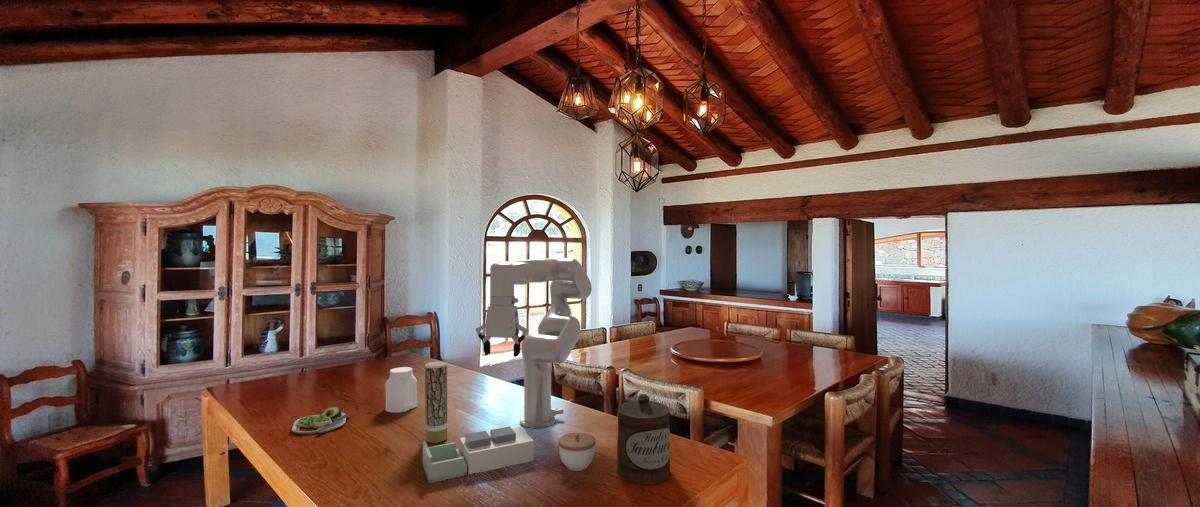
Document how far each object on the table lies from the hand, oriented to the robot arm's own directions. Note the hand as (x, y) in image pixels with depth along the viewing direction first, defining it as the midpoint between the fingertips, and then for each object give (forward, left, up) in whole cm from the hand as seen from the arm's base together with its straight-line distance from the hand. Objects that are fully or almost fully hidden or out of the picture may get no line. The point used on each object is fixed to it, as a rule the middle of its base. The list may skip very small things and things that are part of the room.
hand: (501, 355), depth 154 cm
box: (+20, +10, -29) cm, 36 cm away
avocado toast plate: (+52, -46, -29) cm, 75 cm away
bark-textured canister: (+18, -13, -29) cm, 36 cm away
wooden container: (-30, +37, -29) cm, 56 cm away
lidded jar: (-15, +25, -29) cm, 41 cm away
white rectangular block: (+5, +10, -29) cm, 31 cm away
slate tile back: (+3, +10, -23) cm, 25 cm away
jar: (+25, -52, -29) cm, 65 cm away
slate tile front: (+10, +10, -23) cm, 27 cm away
